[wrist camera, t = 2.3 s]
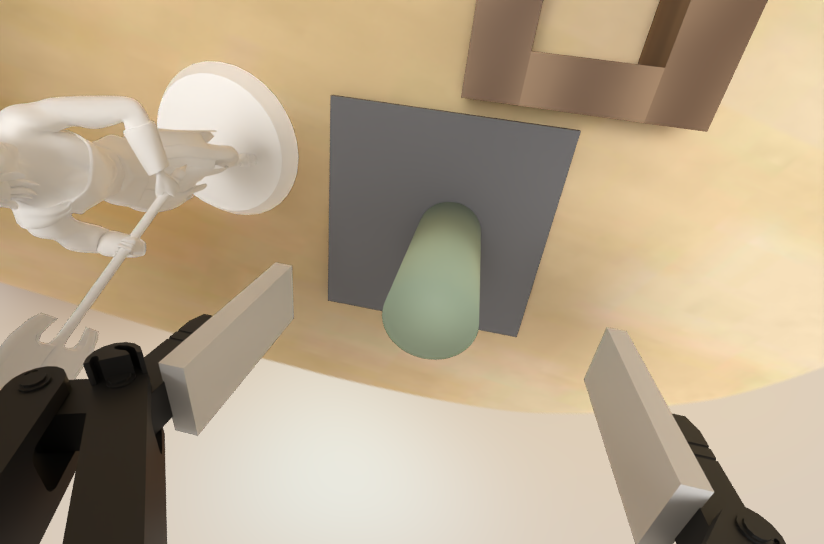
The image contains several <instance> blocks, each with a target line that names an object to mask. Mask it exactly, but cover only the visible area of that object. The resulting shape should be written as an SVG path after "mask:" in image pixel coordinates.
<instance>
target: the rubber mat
mask: <svg viewBox="0 0 824 544" xmlns="http://www.w3.org/2000/svg"><path fill="white" fill-rule="evenodd" d="M580 132H581V131H580V130H574V129H567V128H560V127H553V126H546V125H539V124H532V123H525V122H518V121H511V120H504V119H497V118H490V117H483V116H476V115H469V114H462V113H455V112H448V111H441V110H434V109H427V108H420V107H413V106H406V105H399V104H392V103H385V102H378V101H371V100H364V99H357V98H350V97H343V96H336V95H331V109H330V186H329V263H328V301H334V302H339V303H344V304H349V305H354V306H359V307H364V308H370V309H375V310H380V311H383V306H384V303H385V300H386V298H387V296H388V293H389V291H390V289H391V287H392V284H393V282H394V280H395V277H396V275H397V273H398V270H399V268H400V266H401V264H402V261H403V259H404V257H405V254H406V252H407V250H408V247H409V245H410V243H411V241H412V238H413V236H414V234H415V231H416V229H417V227H418V224H419V222H420V220H421V218H422V216H423V215H424V213H425V212H426V211H427V210H428V209H429V208H431V207H432V206H434V205H436V204H439V203H442V202H456V203H460V204H462V205H464V206H466V207H468V208H469V209H470V210H472V211H473V212H474V214H475V215H476V216H477V218H478V220H479V223H480V226H481V257H480V304H479V329H478V330H483V331H488V332H493V333H498V334H503V335H508V336H513V337H517V334H518V331H519V328H520V325H521V321H522V318H523V315H524V312H525V309H526V305H527V302H528V299H529V296H530V293H531V289H532V286H533V283H534V280H535V276H536V273H537V270H538V267H539V264H540V260H541V257H542V254H543V251H544V248H545V244H546V241H547V238H548V235H549V231H550V228H551V225H552V222H553V219H554V215H555V212H556V209H557V206H558V203H559V199H560V196H561V193H562V190H563V186H564V183H565V180H566V177H567V174H568V170H569V167H570V164H571V161H572V158H573V154H574V151H575V148H576V145H577V141H578V138H579V135H580Z"/></svg>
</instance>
